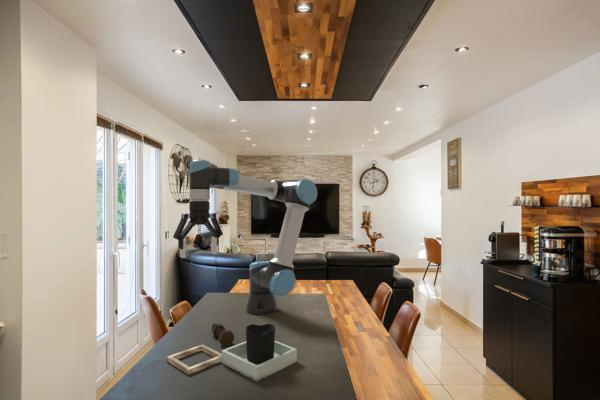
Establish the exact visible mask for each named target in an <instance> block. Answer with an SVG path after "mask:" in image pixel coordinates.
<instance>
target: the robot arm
mask: <svg viewBox="0 0 600 400" xmlns="http://www.w3.org/2000/svg"><path fill="white" fill-rule="evenodd" d="M188 173H189V203H188V204H189V207H188V208H189V209H188V210H189V213H187V212H186V213H181V217H180V221H179V223H178V225H177V227H176V229H175V232H174V234H173V235H172V238H173V239H175V240H177V241H178V242H177V246H178V249H179V257H180V258H182V259H186V257H187V255H186V254H187V253H186V252H187V251H186V250H187V249H186V248H187V243H186V242H187V240H186V239H185V238H186V237H187V236H188V234H189V233H190V232H191V230H192V229H193V228H194V227H195V226H200V225H204V226H205V227H206V229H207V230H208V232H209V233H210V234H211V235H212V237H211V238H210V239H211V243H210V244H211V245H210V246H211V249H210V251H211V252H210V253H211V254H213V255H217V253H218V245H219V238H221V236H224V232H223V230H222V228H221V225H220V223H219V221H218V219H217V213H216V212H209V211H210V209H211V208H210V207H211V205H210V204H211V203H210V201H209V200H211V199H210V198H211V194H210V193H211V191H210V189H211V188H213V189H219V190H224V191H230V192H231V191H232V192H238V193H243V194H250V195H255V196H262V197H267V198H268V199H269V200H271V201H278V202H281V203H284V204H285V207H286V211H285V214H284V218H283V222H282V225H281V229H280V233H279V236H278V241H277V245H276V249H275V252H274V256H273V258H271V259H270V260H265V261H254V262H251V263H250V264H249V269H248V270H249V271H248V272H249V294H248V296H247V300H246V304H245V312H247V313H248V314H252V315H268V314H269V315H270V314H273V313H275V312H277V310H278V303H277V299H276V297H275V295H276V296H280V297H282V296H286V295H288V294H289V293H291V291H293V290H294V288H295V286H296V282H297V280H296V279H297V278H296V275H295V273H294V268H295V266H294V265H293V259H294V255H295V252H296V250H297V249H296V248H297V244H298V240H299V237H300V232H301V230H302V225H303V220H304V217H305V213H306V212H307V211H309V210H310V207H311V206H310V205H311V204H313V203H314V202H316V201H317V199H318V198H317V197H318V189H317V186H316V184H315V183H314V182H313V181H312V180H311V179H308V178H299V179H287V180H277V179H276V180H275V179H272V180H270V181H269V180H265V179H259V178H254V177H249V176H245V175H240V173H239V171H238V169H236V168H232V167H215V166H211V162H210V161H209V160H202V159H201V160H200V159H196V160H195V159H194V160H192V161H190V163H189V172H188ZM188 219H189V221H188ZM209 219H210V220H209Z"/></svg>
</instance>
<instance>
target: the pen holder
mask: <svg viewBox="0 0 600 400" xmlns="http://www.w3.org/2000/svg"><path fill="white" fill-rule="evenodd" d="M275 336H276V327H275V325H274V324H272V323H266V324H261V325H260V324H254V323H253V324H248V325H247V326H246V327H245V341H246V351H247V360H248V361H249V362H251V363H253V364H257V365H259V364H262V363H264V362H266V361H268V360H270V359H272V358H274V344H275V341H276V340H275V339H276V337H275Z"/></svg>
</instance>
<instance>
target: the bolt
mask: <svg viewBox="0 0 600 400" xmlns="http://www.w3.org/2000/svg"><path fill="white" fill-rule="evenodd" d="M211 333H212V334H213V335H214V336H215V338H218V339H217V340H218V342H219V343H220V344H221V346H222V347H228V346H231V345H232V344H233V342H234V341H235V335H234V333H233V331H232V330H231V329H227V330H226V328H225V326H224V325H223V324H222V323H214V324H212V326H211ZM227 345H228V346H227Z"/></svg>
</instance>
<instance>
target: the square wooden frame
mask: <svg viewBox="0 0 600 400" xmlns="http://www.w3.org/2000/svg"><path fill="white" fill-rule="evenodd" d="M199 352H203V353H205V354H207V355H208V356H211V357H212V358H210V359H207V360H204V361H202V362H199V363H197V364H194V365H193V366H189V365H187V364H185V363H184V362H182V361H181V360H180V359H182V358H185V357H187V356H188V357H189V356H190V355H194V354H196V353H199ZM221 354H222V352H221V353H220V352H219V351H217V350H215V349H212V348H210V347H209V346H206V345H205V344H203V343H202V344H199V345H197V346H194V347H191V348H188V349H185V350H183V351H179V352H176V353H173V354H171V355H169V356H166V362H167V363H169V364H170V365H172V366H174V367H175V368H177V369H178V370H180V371H182V372H183V373H184V374H186V375H188V376H189V375H192V374H195V373H197V372H200V371H201V370H203V369H206V368H208V367H211V366H215V365H216V364H218V363H221Z"/></svg>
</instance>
